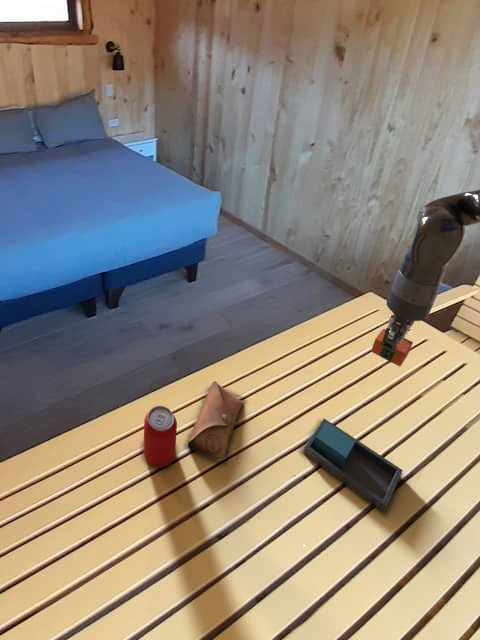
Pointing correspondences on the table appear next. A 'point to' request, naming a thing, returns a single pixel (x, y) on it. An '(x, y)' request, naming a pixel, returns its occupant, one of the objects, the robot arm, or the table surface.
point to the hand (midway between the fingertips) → (389, 351)
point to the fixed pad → (334, 445)
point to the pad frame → (360, 470)
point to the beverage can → (160, 436)
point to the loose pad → (399, 353)
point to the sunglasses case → (215, 422)
